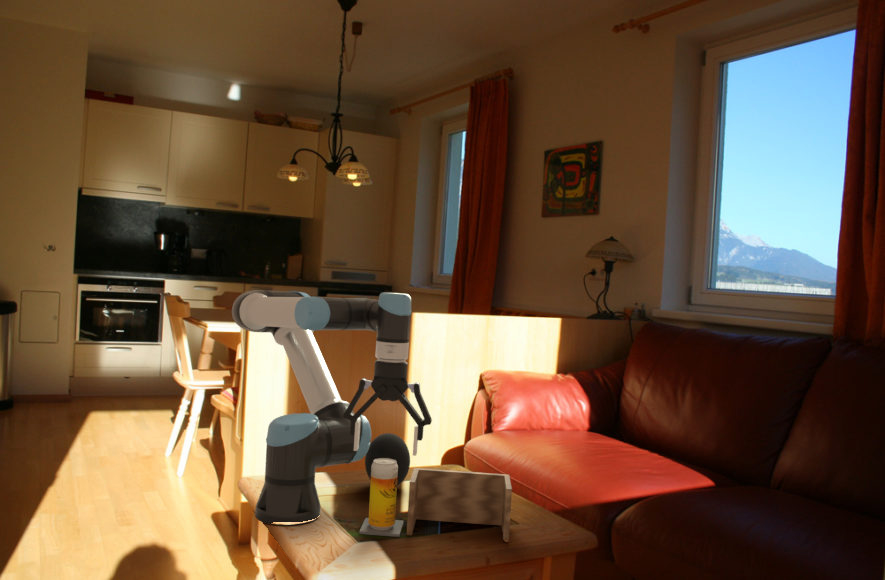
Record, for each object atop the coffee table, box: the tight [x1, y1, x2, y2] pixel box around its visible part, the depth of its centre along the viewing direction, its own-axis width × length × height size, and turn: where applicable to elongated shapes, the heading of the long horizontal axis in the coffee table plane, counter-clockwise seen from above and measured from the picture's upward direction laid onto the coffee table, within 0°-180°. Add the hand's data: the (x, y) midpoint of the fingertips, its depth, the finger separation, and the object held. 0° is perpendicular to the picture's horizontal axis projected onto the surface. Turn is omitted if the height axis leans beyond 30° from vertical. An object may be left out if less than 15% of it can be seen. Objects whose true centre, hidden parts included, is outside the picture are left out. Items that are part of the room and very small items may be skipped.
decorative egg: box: [364, 432, 411, 487], centre depth 190 cm, size 12×12×15 cm
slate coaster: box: [358, 517, 404, 538], centre depth 159 cm, size 9×9×1 cm
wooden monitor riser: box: [406, 467, 513, 541], centre depth 161 cm, size 23×12×12 cm, turn 87°
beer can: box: [368, 458, 398, 530], centre depth 158 cm, size 6×6×15 cm
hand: (385, 452), depth 159 cm, fingers open, 13 cm apart
